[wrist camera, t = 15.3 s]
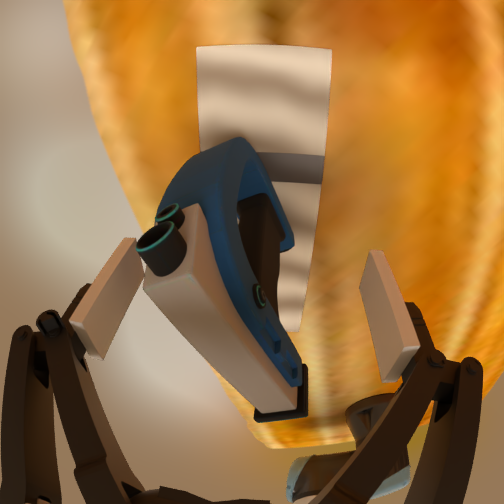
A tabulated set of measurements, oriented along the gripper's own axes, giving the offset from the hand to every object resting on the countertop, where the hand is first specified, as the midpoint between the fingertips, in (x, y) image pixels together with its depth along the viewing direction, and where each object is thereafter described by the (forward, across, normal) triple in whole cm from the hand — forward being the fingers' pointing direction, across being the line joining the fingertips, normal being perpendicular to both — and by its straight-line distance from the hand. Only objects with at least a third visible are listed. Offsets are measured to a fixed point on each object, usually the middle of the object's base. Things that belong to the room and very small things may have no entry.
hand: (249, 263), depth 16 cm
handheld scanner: (+15, 0, +3) cm, 15 cm away
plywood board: (+16, 0, +6) cm, 17 cm away
